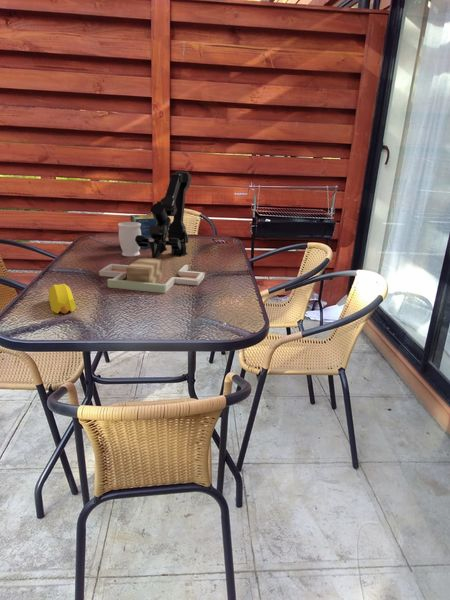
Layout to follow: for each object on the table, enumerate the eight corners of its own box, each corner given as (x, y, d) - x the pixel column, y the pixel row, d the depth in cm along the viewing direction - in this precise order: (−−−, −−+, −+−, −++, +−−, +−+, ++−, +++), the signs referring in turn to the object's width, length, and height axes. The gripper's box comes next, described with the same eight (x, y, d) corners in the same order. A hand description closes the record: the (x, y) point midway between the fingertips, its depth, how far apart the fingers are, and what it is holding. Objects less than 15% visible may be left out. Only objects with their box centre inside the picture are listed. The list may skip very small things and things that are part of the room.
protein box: (131, 244, 234) (129, 215, 228) (159, 242, 240) (159, 213, 234) (136, 249, 225) (135, 218, 219) (165, 247, 231) (165, 217, 225)
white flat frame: (119, 262, 203) (118, 256, 201) (209, 271, 195) (209, 264, 194) (85, 284, 174) (84, 277, 173) (189, 295, 166) (189, 288, 165)
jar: (144, 252, 220) (143, 222, 215) (138, 258, 211) (137, 226, 205) (123, 251, 221) (121, 221, 216) (116, 256, 211) (114, 225, 206)
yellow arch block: (70, 296, 162) (48, 299, 159) (69, 278, 160) (46, 281, 157) (77, 314, 147) (52, 317, 144) (76, 295, 145) (50, 298, 142)
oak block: (141, 275, 187) (140, 257, 184) (162, 277, 185) (161, 259, 183) (127, 287, 173) (126, 267, 170) (149, 289, 172) (148, 269, 169)
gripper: (135, 215, 186) (126, 248, 180) (178, 219, 182) (170, 252, 176) (143, 230, 196) (134, 261, 190) (184, 233, 193) (176, 265, 187)
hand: (153, 260), depth 185 cm, fingers closed
